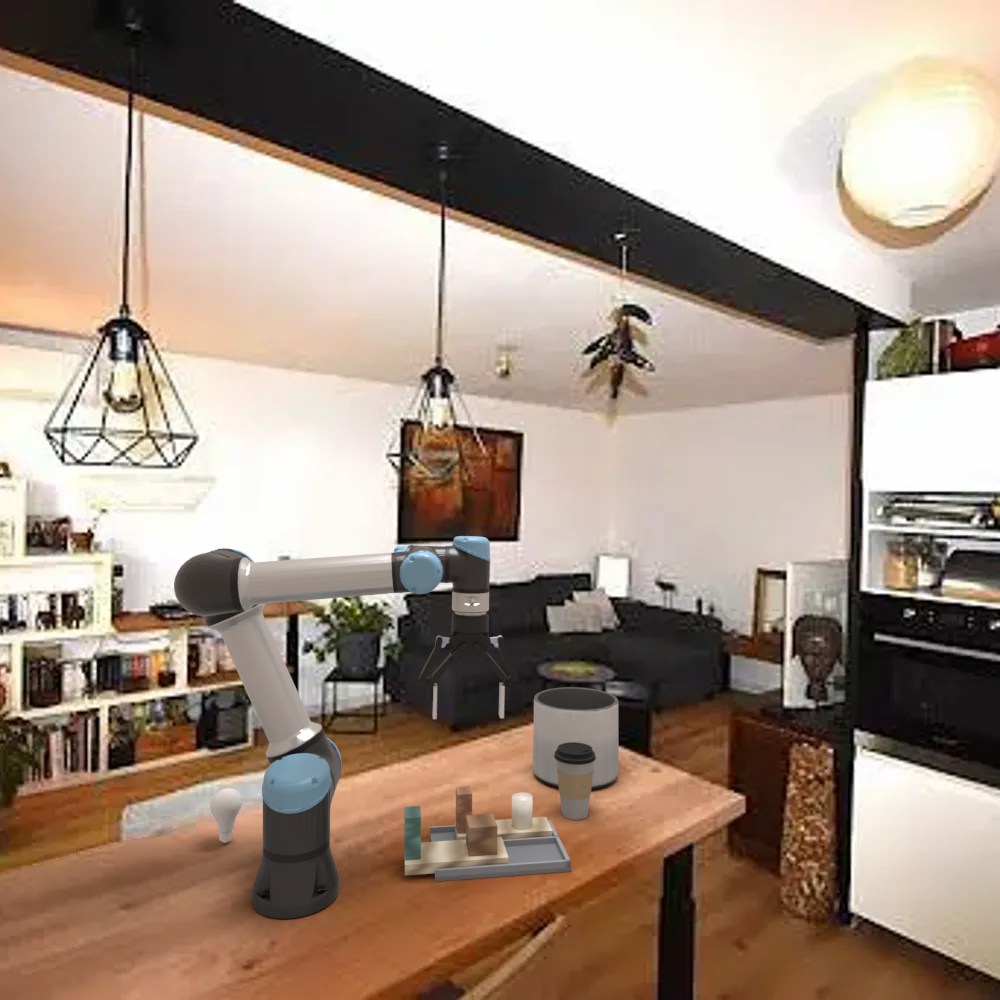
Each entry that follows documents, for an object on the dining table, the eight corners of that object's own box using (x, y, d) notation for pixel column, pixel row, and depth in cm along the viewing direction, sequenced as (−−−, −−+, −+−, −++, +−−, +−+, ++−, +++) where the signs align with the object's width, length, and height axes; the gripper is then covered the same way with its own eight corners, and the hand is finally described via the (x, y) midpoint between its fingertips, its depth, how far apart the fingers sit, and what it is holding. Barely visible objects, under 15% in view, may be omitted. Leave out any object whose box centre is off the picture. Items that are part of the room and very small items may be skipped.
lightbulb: (204, 842, 147) (204, 789, 147) (232, 832, 152) (233, 781, 152) (218, 852, 143) (218, 798, 143) (246, 842, 147) (247, 789, 147)
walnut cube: (468, 856, 136) (469, 827, 136) (465, 842, 142) (466, 815, 142) (497, 854, 137) (497, 826, 137) (493, 841, 142) (493, 813, 142)
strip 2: (457, 846, 144) (458, 797, 144) (455, 831, 150) (455, 784, 150) (552, 840, 147) (552, 791, 147) (545, 826, 153) (546, 779, 153)
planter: (536, 757, 197) (537, 685, 197) (617, 762, 194) (617, 688, 193) (528, 790, 175) (529, 708, 175) (619, 795, 172) (620, 712, 172)
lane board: (435, 881, 133) (435, 870, 133) (430, 835, 151) (430, 826, 151) (570, 871, 137) (570, 860, 137) (550, 828, 155) (550, 818, 154)
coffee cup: (593, 825, 156) (594, 757, 156) (551, 821, 158) (551, 753, 158) (596, 807, 165) (597, 742, 165) (556, 803, 167) (556, 739, 167)
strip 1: (404, 875, 133) (405, 822, 133) (404, 853, 141) (404, 803, 141) (508, 867, 136) (508, 815, 136) (501, 847, 144) (502, 797, 144)
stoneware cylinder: (513, 830, 147) (513, 801, 147) (509, 821, 151) (510, 793, 151) (534, 829, 147) (534, 800, 147) (530, 819, 152) (530, 791, 152)
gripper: (408, 615, 139) (406, 723, 139) (534, 615, 142) (531, 721, 142) (408, 609, 147) (406, 712, 147) (528, 609, 150) (526, 710, 150)
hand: (468, 717), depth 145 cm, fingers open, 13 cm apart
